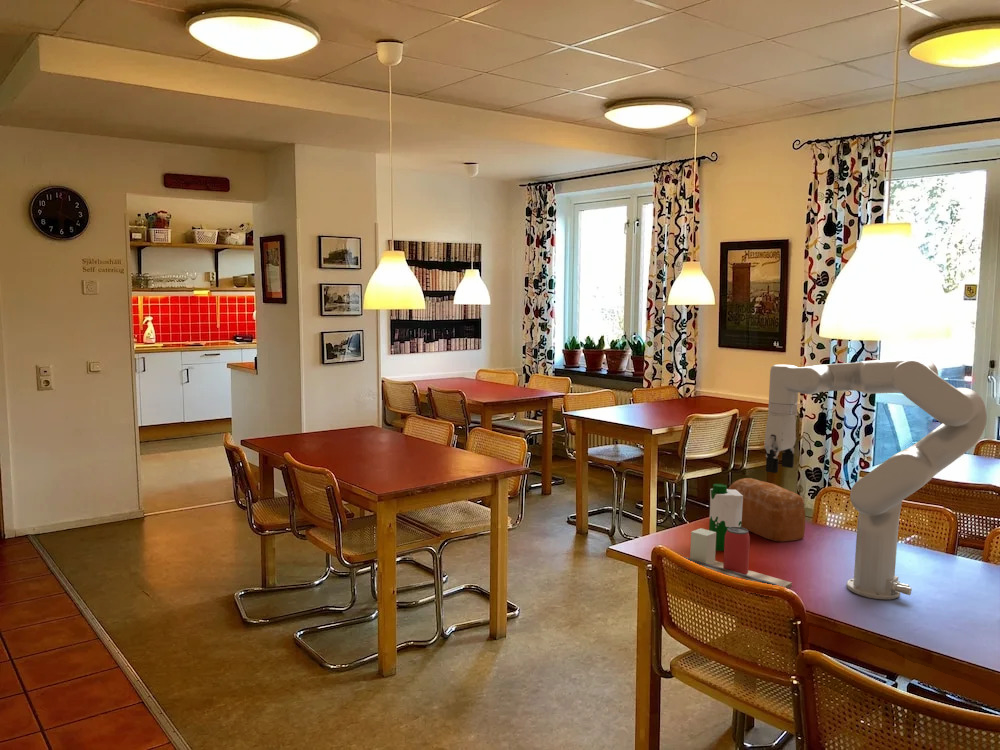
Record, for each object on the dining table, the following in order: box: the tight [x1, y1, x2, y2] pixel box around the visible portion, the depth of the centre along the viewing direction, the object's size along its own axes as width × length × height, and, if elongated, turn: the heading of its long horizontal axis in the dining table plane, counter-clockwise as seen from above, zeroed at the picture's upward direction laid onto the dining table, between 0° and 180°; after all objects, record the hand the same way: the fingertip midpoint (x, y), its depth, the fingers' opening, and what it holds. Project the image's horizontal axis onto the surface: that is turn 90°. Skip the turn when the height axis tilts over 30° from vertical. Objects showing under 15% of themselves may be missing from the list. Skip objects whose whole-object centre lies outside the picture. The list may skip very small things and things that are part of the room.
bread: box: [728, 477, 806, 543], centre depth 251 cm, size 14×26×16 cm, turn 22°
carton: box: [689, 527, 716, 565], centre depth 215 cm, size 5×5×9 cm
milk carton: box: [708, 483, 743, 552], centre depth 229 cm, size 9×9×20 cm
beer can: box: [722, 527, 751, 575], centre depth 208 cm, size 7×7×12 cm
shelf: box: [683, 556, 793, 589], centre depth 208 cm, size 28×10×3 cm, turn 44°
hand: (779, 469), depth 214 cm, fingers open, 9 cm apart
